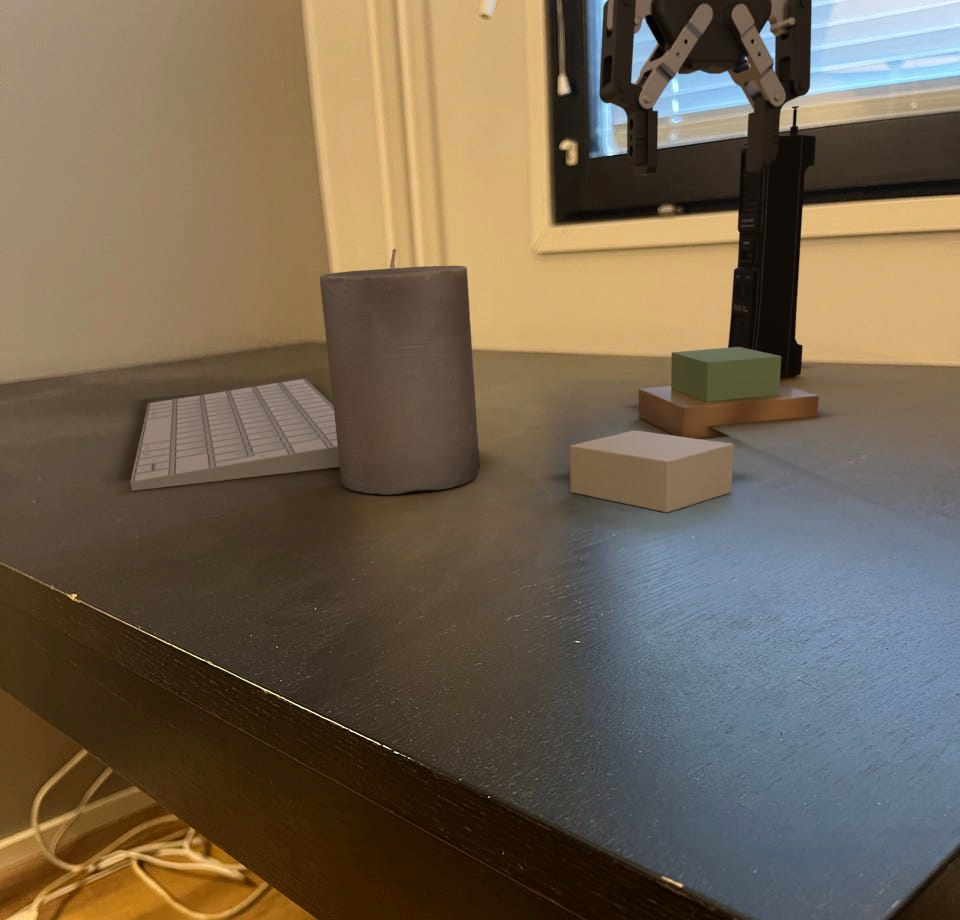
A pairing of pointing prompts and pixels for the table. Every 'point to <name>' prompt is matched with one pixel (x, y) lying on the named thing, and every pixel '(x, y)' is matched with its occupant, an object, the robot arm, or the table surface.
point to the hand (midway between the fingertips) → (702, 172)
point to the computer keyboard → (236, 435)
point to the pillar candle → (402, 377)
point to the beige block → (651, 469)
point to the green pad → (725, 373)
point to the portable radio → (771, 252)
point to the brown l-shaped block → (719, 410)
